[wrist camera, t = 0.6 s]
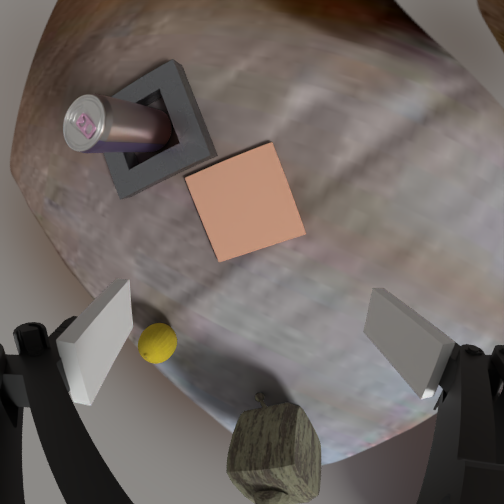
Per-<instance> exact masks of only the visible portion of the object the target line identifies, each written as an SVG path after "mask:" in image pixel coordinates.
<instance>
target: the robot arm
mask: <svg viewBox="0 0 504 504" xmlns="http://www.w3.org/2000/svg"><path fill="white" fill-rule="evenodd" d="M132 328H133V320H132V309H131V296H130V280H129V279H117V278H116V279H115V280H114V281H113V282H112V283H111V284H110V285H109V286H108V287H107V288H106V289H105V290H104V291H103V292H102V293H101V294H100V295H99V296H98V297H97V298H96V299H95V300H94V301H93V302H92V303H91V304H90V305H89V306H88V307H87V308H86V309H85V310H84V311H83V312H82V313H81V314H80V315H79V316H78V317H76V316H73V317H71V318H69V319H67V320H65V321H64V322H63V323H62V324H61V325H60V326H59V327H58V328H57V329H56V330H55V332H53V333H52V334H51V335H50V336H49V337H48V335H47V331H46V327H45V326H44V325H43V324H41V323H36V322H32V323H25V324H22V325H20V326H18V327H17V328H16V329H15V330H14V332H13V335H14V339H15V343H16V346H17V350H18V353H19V355H6V354H5V351H4V348H3V346H2V345H1V344H0V504H25V500H24V490H23V475H22V425H23V409H24V407H30V408H31V412H32V416H33V419H34V422H35V426H36V429H37V432H38V435H39V438H40V441H41V444H42V447H43V450H44V452H45V455H46V458H47V461H48V463H49V466H50V468H51V471H52V473H53V475H54V478H55V480H56V482H57V484H58V487H59V489H60V491H61V493H62V495H63V497H64V499H65V501H66V503H67V504H134V503H133V502H132V501H131V500H130V498H129V497H128V496H127V494H126V493H125V492H124V490H123V489H122V487H121V486H120V485H119V483H118V481H117V480H116V479H115V477H114V476H113V474H112V473H111V471H110V469H109V468H108V466H107V465H106V463H105V462H104V460H103V458H102V457H101V455H100V453H99V451H98V450H97V448H96V447H95V445H94V443H93V441H92V439H91V437H90V436H89V434H88V432H87V430H86V428H85V426H84V424H83V422H82V420H81V418H80V417H79V414H78V412H77V410H76V408H75V406H74V404H73V402H76V403H80V404H85V405H89V406H91V405H92V403H93V401H94V399H95V397H96V395H97V393H98V391H99V389H100V387H101V385H102V383H103V381H104V379H105V377H106V375H107V374H108V372H109V370H110V368H111V366H112V364H113V362H114V360H115V359H116V357H117V355H118V353H119V351H120V350H121V348H122V346H123V344H124V342H125V340H126V339H127V337H128V335H129V333H130V332H131V330H132ZM363 332H364V333H365V334H366V335H367V337H368V338H369V339H370V340H371V341H372V342H373V343H374V345H375V346H376V347H377V348H378V349H379V350H380V352H381V353H382V354H383V355H384V356H385V357H386V359H387V360H388V361H389V362H390V363H391V364H392V366H393V367H394V368H395V369H396V370H397V371H398V373H399V374H400V375H401V376H402V377H403V379H404V380H405V381H406V382H407V383H408V384H409V386H410V387H411V388H412V389H413V390H414V392H415V393H416V394H417V395H418V396H419V398H420V399H424V398H428V397H432V396H434V394H435V392H436V390H437V387H438V385H440V386H441V387H442V388H443V390H442V393H441V395H440V397H439V399H438V401H437V403H436V405H435V407H434V410H436V408H437V407H438V413H437V420H436V427H435V432H434V437H433V443H432V447H431V452H430V457H429V461H428V465H427V469H426V473H425V477H424V481H423V484H422V488H421V491H420V494H419V498H418V501H417V504H504V345H497V346H495V348H494V350H493V353H492V355H485V354H484V352H483V351H482V350H481V349H480V348H478V347H476V346H474V345H468V344H466V345H462V346H460V345H458V344H457V343H456V342H455V341H453V340H452V339H451V338H449V337H448V336H447V335H446V334H444V333H443V332H442V331H440V330H439V329H438V328H437V327H435V326H434V325H433V324H431V323H430V322H429V321H427V320H426V319H425V318H423V317H422V316H421V315H419V314H418V313H417V312H415V311H414V310H413V309H411V308H410V307H409V306H407V305H406V304H405V303H403V302H402V301H401V300H399V299H398V298H397V297H395V296H394V295H392V294H391V293H390V292H388V291H387V290H386V289H384V288H373V289H372V294H371V299H370V304H369V309H368V313H367V318H366V322H365V327H364V331H363ZM502 385H503V390H502V392H501V394H500V393H499V391H500V389H501V387H502ZM69 391H70V393H71V396H72V399H73V402H72V400H71V398H70V395H69V393H68V392H69Z"/></svg>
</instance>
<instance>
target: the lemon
mask: <svg viewBox="0 0 504 504" xmlns="http://www.w3.org/2000/svg"><path fill="white" fill-rule="evenodd" d="M176 346H177V337H176V334H175V332H174V330H173V329H172V328H171V327H170V326H168V325H166V324H163V323H155V324H152V325H150V326H148V327H147V328H146V329H145V330H144V331H143V332H142V334H141V336H140V338H139V341H138V350H139V353H140V355H141V356H142V357H143V358H144V359H145V360H146V361H148V362H150V363H155V364H157V363H162V362H164V361H166V360H167V359H168V358H169V357H170V356H171V355H172V354H173V353H174V351H175V349H176Z"/></svg>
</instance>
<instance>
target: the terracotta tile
mask: <svg viewBox="0 0 504 504" xmlns="http://www.w3.org/2000/svg"><path fill="white" fill-rule="evenodd" d="M185 180H186V182H187V185H188V187H189V190H190V192H191V195H192V198H193V200H194V203H195V205H196V208H197V210H198V212H199V215H200V217H201V220H202V222H203V225H204V227H205V230H206V232H207V235H208V237H209V239H210V242H211V244H212V247H213V249H214V251H215V254H216V256H217V259H218V261H219V262H222V261H225V260H228V259H231V258H234V257H237V256H240V255H243V254H246V253H250V252H253V251H256V250H259V249H262V248H265V247H268V246H271V245H274V244H277V243H280V242H283V241H286V240H289V239H292V238H295V237H299V236H302V235H305V234H306V232H305V229H304V226H303V223H302V220H301V217H300V214H299V212H298V209H297V206H296V203H295V200H294V198H293V195H292V192H291V190H290V187H289V184H288V181H287V179H286V176H285V173H284V171H283V168H282V166H281V163H280V160H279V158H278V155H277V153H276V150H275V148H274V145H273V142H271V143H268V144H265V145H263V146H260V147H258V148H255V149H252V150H250V151H247V152H245V153H242V154H240V155H237V156H235V157H232V158H230V159H227V160H225V161H223V162H220V163H218V164H215V165H213V166H211V167H208V168H206V169H204V170H202V171H199V172H197V173H195V174H193V175H190V176H188V177H186V178H185Z"/></svg>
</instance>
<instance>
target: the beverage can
mask: <svg viewBox="0 0 504 504" xmlns="http://www.w3.org/2000/svg"><path fill="white" fill-rule="evenodd" d="M63 134H64V138H65V141H66V143H67V144H68V146H69V147H70V148H71V149H73V150H75V151H79V152H82V153H105V152H154V151H157V150H159V149H161V148H162V147H163V146H164V145H165V144H166V143H167V141H168V140H169V138H170V135H171V122H170V119H169V117H168V116H167V115H166V114H165V113H164V112H163V111H161V110H158V109H154V108H151V107H147V106H144V105H140V104H136V103H133V102H129V101H125V100H121V99H117V98H113V97H109V96H105V95H100V94H87V95H83V96H81V97H79V98H77V99H76V100H75V101H74V102H73V103H72V104H71V106H70V107H69V109H68V110H67V113H66V115H65V118H64V123H63Z"/></svg>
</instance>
